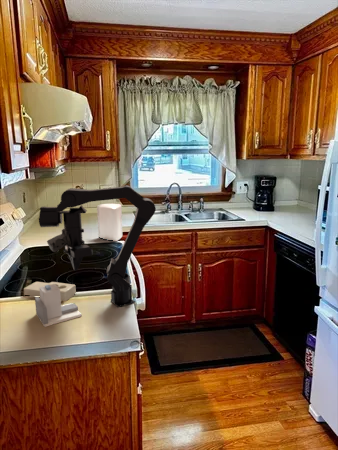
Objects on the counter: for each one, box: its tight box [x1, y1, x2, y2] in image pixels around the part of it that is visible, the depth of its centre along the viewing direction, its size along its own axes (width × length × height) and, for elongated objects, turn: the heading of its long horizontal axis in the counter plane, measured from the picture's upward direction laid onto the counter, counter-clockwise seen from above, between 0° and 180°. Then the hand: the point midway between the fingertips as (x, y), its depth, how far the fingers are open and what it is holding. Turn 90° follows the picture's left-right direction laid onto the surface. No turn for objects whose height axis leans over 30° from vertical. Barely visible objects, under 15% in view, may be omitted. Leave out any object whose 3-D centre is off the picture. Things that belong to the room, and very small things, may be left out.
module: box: [39, 284, 62, 319], centre depth 109 cm, size 5×6×10 cm
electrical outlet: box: [23, 281, 77, 302], centre depth 128 cm, size 7×4×18 cm
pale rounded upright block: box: [96, 203, 123, 242], centre depth 208 cm, size 15×14×22 cm
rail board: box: [34, 297, 82, 327], centre depth 111 cm, size 12×10×6 cm
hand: (75, 270), depth 116 cm, fingers closed
